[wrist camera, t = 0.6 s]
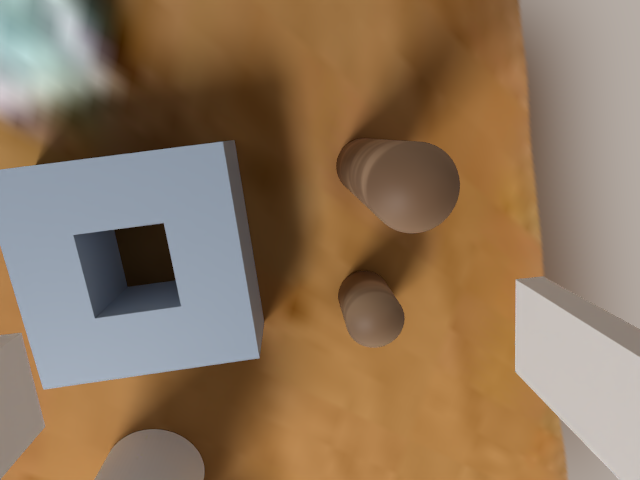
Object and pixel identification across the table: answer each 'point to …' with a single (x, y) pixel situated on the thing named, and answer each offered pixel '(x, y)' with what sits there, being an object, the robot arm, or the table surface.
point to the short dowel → (370, 309)
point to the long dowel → (401, 181)
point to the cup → (153, 458)
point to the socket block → (107, 270)
